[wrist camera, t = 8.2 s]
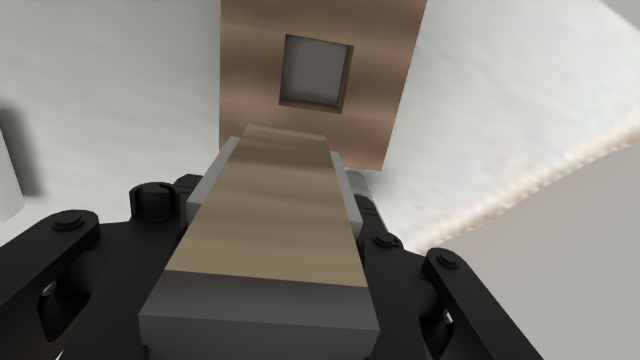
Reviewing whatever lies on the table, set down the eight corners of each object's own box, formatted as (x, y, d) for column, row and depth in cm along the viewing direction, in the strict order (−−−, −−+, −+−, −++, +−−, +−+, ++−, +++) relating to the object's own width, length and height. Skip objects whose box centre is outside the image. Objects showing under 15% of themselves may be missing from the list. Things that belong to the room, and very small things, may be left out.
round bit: (334, 168, 34) (351, 229, 23) (368, 172, 34) (400, 234, 23) (328, 198, 35) (342, 268, 25) (360, 202, 36) (387, 272, 25)
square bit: (249, 121, 15) (138, 314, 5) (324, 132, 16) (380, 330, 5) (244, 188, 17) (152, 445, 6) (312, 196, 18) (334, 446, 7)
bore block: (233, -43, 25) (222, -58, 21) (412, -7, 27) (430, -14, 23) (228, 138, 31) (218, 151, 28) (372, 156, 33) (381, 171, 30)
